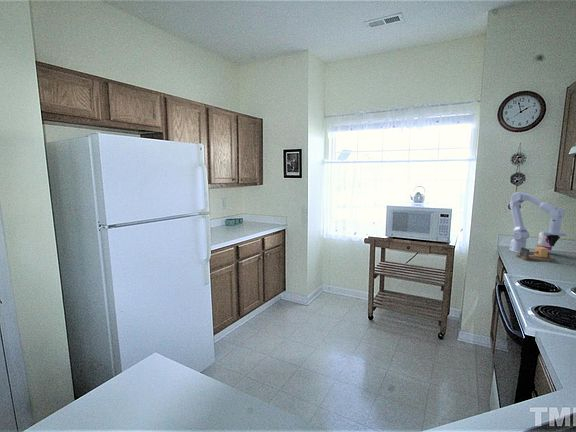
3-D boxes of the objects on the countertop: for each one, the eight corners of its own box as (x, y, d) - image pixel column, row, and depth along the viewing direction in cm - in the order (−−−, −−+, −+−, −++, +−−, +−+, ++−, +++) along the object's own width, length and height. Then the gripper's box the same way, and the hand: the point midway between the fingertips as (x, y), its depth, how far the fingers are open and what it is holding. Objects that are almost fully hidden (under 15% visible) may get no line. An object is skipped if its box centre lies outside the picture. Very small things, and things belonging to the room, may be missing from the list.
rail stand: (515, 256, 217) (517, 246, 216) (543, 257, 216) (545, 247, 215) (526, 260, 207) (527, 250, 206) (555, 261, 206) (557, 251, 205)
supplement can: (553, 254, 224) (557, 234, 221) (542, 254, 224) (545, 233, 221) (544, 251, 232) (548, 231, 229) (533, 250, 232) (536, 231, 229)
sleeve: (534, 254, 214) (535, 246, 213) (540, 255, 214) (542, 246, 213) (540, 257, 209) (541, 248, 208) (546, 257, 208) (548, 248, 207)
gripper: (548, 227, 204) (545, 247, 206) (571, 227, 203) (567, 247, 206) (540, 225, 211) (537, 244, 213) (562, 225, 210) (558, 245, 212)
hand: (551, 245), depth 210 cm, fingers closed
